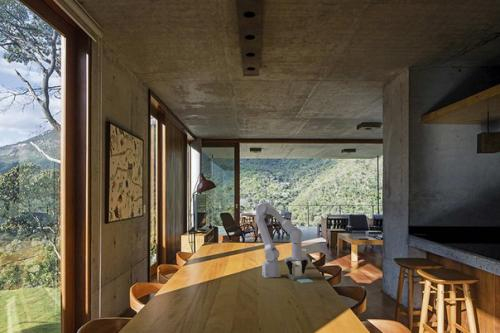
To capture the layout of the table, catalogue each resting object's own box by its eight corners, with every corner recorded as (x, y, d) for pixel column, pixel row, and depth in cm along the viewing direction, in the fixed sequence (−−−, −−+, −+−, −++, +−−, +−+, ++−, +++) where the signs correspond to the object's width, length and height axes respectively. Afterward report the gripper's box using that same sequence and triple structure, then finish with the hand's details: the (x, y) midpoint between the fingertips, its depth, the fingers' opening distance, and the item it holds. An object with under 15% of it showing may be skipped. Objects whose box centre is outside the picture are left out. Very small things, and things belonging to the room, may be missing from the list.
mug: (307, 267, 257) (306, 249, 258) (306, 269, 251) (306, 250, 251) (291, 267, 259) (291, 248, 260) (290, 269, 253) (290, 250, 253)
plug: (295, 279, 225) (295, 266, 226) (292, 277, 229) (292, 264, 229) (301, 278, 226) (301, 265, 227) (298, 277, 230) (298, 264, 231)
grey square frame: (292, 280, 222) (292, 277, 222) (287, 276, 231) (287, 274, 231) (307, 279, 225) (307, 276, 225) (301, 275, 233) (301, 273, 233)
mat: (302, 283, 214) (302, 282, 215) (297, 280, 221) (297, 279, 221) (313, 282, 216) (313, 281, 216) (308, 279, 223) (308, 278, 223)
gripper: (287, 251, 223) (287, 276, 222) (310, 250, 227) (311, 274, 226) (283, 250, 229) (283, 273, 229) (305, 248, 233) (306, 271, 233)
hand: (297, 273), depth 228 cm, fingers open, 7 cm apart
